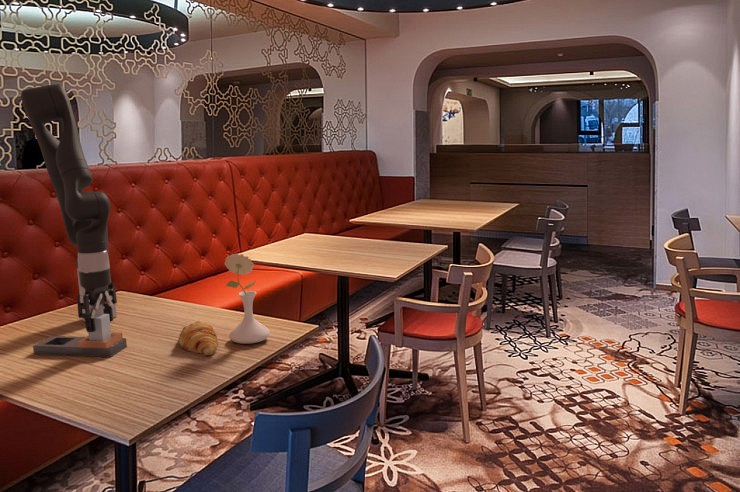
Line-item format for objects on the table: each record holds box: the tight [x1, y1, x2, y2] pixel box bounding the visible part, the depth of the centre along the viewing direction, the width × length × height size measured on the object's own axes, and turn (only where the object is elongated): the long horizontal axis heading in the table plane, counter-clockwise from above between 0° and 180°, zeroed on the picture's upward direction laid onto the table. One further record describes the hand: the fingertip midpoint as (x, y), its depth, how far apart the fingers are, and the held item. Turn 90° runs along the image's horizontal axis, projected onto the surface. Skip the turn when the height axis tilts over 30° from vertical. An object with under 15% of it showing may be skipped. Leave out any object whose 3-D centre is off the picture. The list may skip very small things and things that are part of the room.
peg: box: [87, 314, 112, 341], centre depth 159 cm, size 4×4×10 cm
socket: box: [32, 332, 128, 358], centre depth 160 cm, size 22×8×4 cm, turn 83°
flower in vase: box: [224, 252, 271, 345], centre depth 165 cm, size 13×11×25 cm
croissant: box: [177, 321, 219, 356], centre depth 162 cm, size 21×10×8 cm, turn 36°
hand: (100, 326), depth 159 cm, fingers open, 8 cm apart
